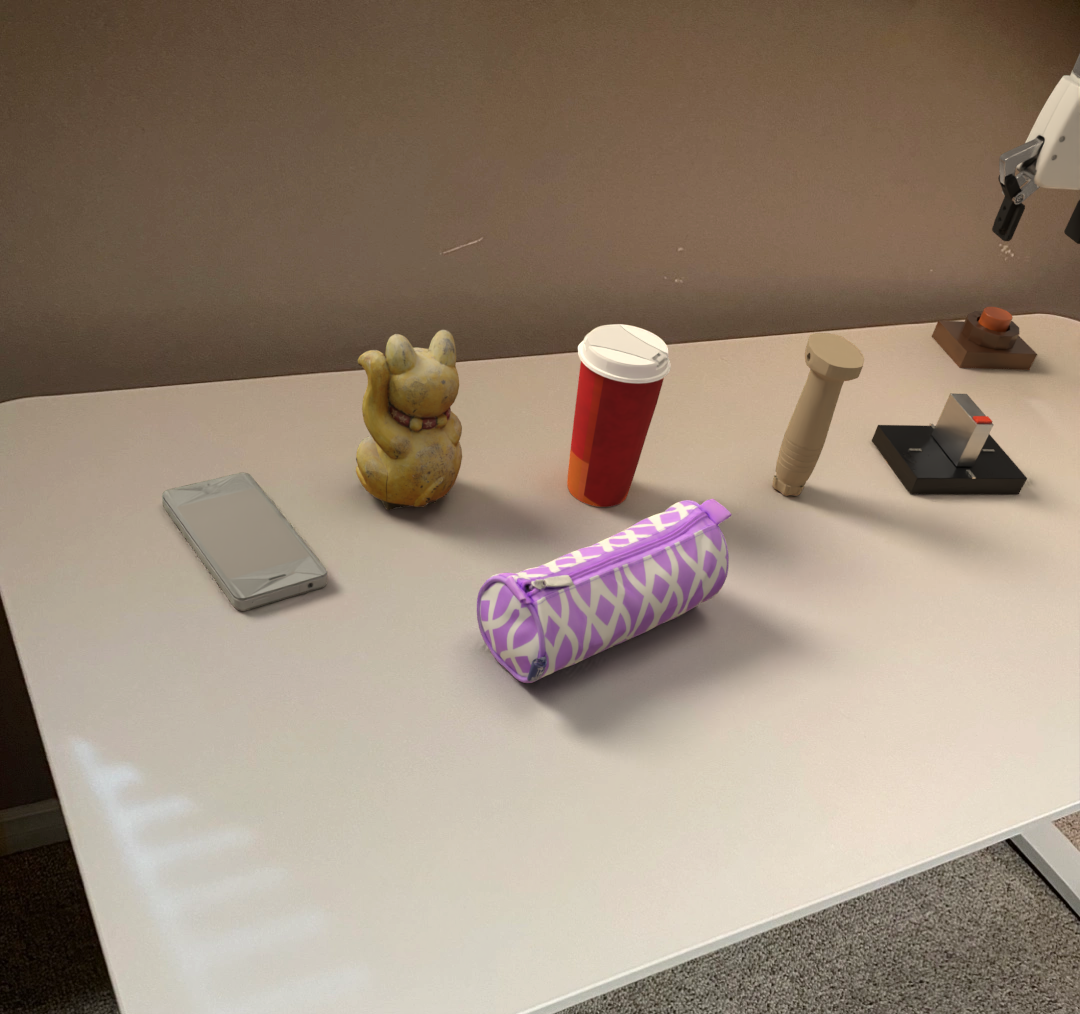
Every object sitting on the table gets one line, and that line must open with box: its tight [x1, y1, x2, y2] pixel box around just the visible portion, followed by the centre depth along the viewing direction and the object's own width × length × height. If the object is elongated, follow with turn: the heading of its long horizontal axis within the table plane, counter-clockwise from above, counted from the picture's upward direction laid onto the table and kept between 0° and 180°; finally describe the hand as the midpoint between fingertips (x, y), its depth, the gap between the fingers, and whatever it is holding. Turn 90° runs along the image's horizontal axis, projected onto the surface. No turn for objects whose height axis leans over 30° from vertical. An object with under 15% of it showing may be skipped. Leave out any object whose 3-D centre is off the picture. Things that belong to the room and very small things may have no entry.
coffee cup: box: [566, 323, 672, 508], centre depth 99 cm, size 8×8×15 cm
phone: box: [161, 471, 328, 612], centre depth 91 cm, size 8×16×1 cm, turn 35°
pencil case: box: [476, 498, 733, 684], centre depth 87 cm, size 22×9×10 cm, turn 130°
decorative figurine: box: [355, 329, 463, 511], centre depth 94 cm, size 10×8×15 cm
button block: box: [931, 310, 1038, 371], centre depth 136 cm, size 10×8×4 cm
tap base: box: [871, 423, 1028, 495], centre depth 116 cm, size 13×10×2 cm
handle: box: [771, 332, 865, 497], centre depth 104 cm, size 5×6×15 cm
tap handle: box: [932, 393, 994, 467], centre depth 113 cm, size 6×2×5 cm, turn 12°
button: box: [978, 306, 1013, 332], centre depth 134 cm, size 4×4×2 cm
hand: (1037, 237), depth 123 cm, fingers open, 9 cm apart
